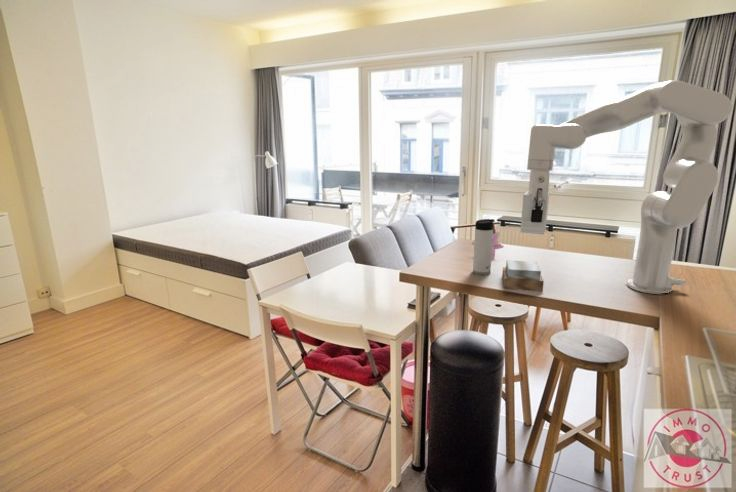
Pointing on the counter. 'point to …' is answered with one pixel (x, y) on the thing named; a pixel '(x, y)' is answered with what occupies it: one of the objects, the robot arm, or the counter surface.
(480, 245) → the travel mug
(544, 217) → the supplement box
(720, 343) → the counter surface
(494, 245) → the lily
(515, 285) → the brown napkin holder
